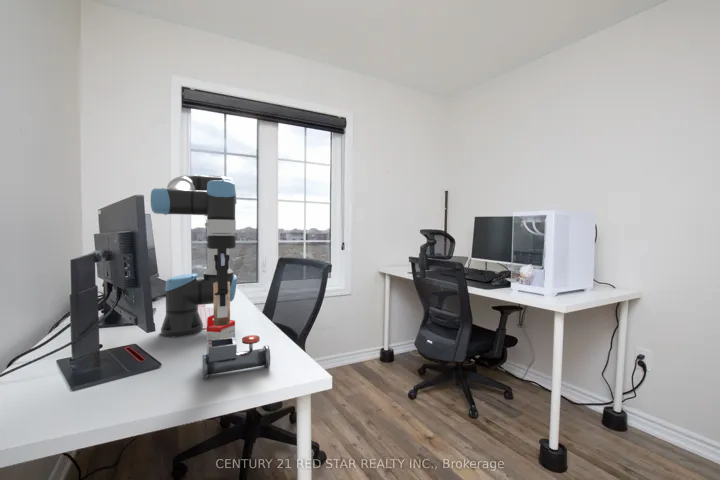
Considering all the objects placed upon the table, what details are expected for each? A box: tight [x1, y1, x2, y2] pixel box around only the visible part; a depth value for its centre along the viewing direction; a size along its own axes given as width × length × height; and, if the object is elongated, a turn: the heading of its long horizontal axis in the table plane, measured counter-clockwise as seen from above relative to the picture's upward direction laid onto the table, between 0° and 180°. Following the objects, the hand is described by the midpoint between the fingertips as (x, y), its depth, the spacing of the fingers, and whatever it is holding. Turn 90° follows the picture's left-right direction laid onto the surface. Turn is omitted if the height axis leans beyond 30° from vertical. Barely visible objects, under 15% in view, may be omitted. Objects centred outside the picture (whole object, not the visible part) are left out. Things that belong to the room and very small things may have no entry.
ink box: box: [206, 314, 236, 357], centre depth 105 cm, size 8×5×15 cm, turn 168°
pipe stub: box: [213, 282, 231, 326], centre depth 93 cm, size 4×4×12 cm
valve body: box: [202, 334, 271, 380], centre depth 95 cm, size 18×7×10 cm, turn 116°
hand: (222, 314), depth 93 cm, fingers closed on pipe stub, 4 cm apart
